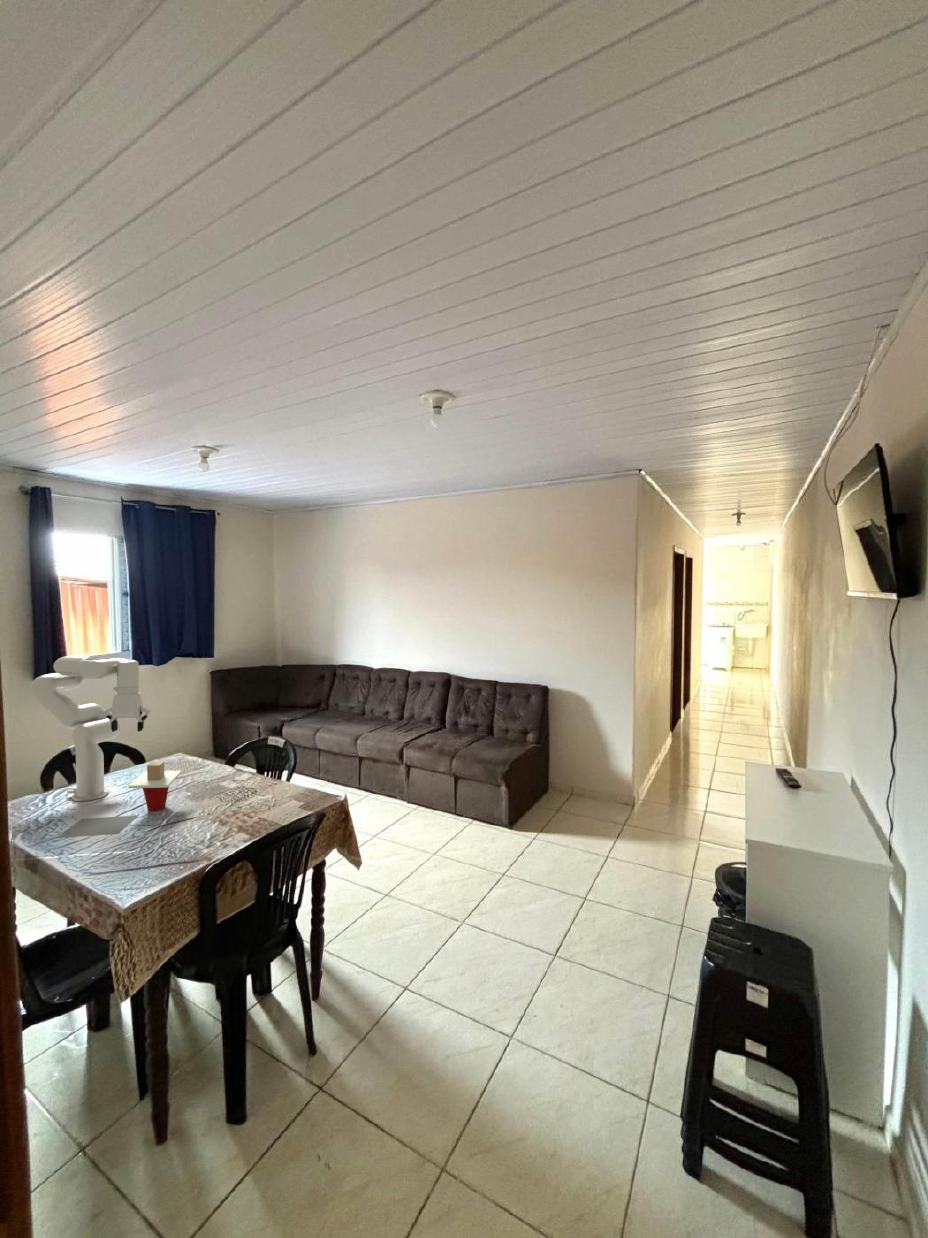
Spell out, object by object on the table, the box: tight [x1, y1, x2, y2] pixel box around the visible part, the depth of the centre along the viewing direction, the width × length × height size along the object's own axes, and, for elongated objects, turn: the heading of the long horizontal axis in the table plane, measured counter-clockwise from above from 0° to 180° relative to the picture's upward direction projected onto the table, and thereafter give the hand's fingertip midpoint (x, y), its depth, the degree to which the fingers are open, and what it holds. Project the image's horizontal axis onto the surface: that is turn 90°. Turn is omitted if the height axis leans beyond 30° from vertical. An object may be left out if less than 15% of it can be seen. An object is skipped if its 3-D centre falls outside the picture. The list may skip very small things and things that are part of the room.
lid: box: [128, 760, 182, 789], centre depth 205 cm, size 14×14×7 cm
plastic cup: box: [142, 786, 170, 812], centre depth 205 cm, size 11×11×12 cm
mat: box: [55, 815, 140, 839], centre depth 189 cm, size 20×16×1 cm
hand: (127, 730), depth 213 cm, fingers open, 9 cm apart
